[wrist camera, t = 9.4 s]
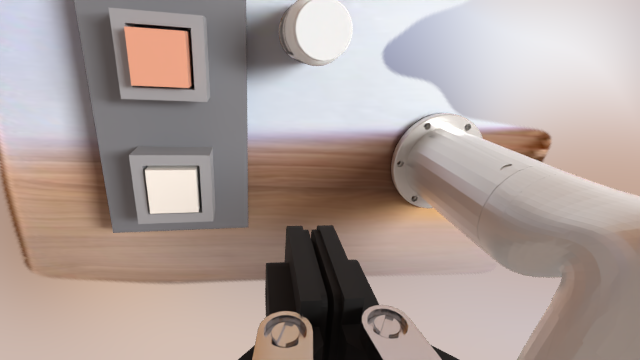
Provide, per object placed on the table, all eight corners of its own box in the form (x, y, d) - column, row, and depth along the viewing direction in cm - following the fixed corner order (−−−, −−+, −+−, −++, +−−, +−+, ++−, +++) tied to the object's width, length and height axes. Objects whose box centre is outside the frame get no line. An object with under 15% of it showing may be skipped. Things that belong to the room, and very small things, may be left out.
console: (245, -5, 33) (246, -15, 28) (247, 215, 42) (248, 240, 36) (84, -21, 30) (49, -36, 25) (122, 219, 39) (102, 248, 33)
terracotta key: (190, 32, 30) (185, 31, 27) (193, 84, 31) (188, 87, 29) (135, 28, 29) (123, 26, 26) (141, 81, 30) (131, 85, 28)
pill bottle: (341, 23, 36) (373, 16, 27) (313, 72, 37) (336, 81, 28) (294, -10, 34) (313, -29, 25) (267, 43, 35) (275, 43, 26)
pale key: (199, 160, 35) (195, 170, 32) (201, 199, 36) (198, 212, 34) (152, 160, 34) (144, 170, 31) (157, 200, 35) (150, 213, 33)
